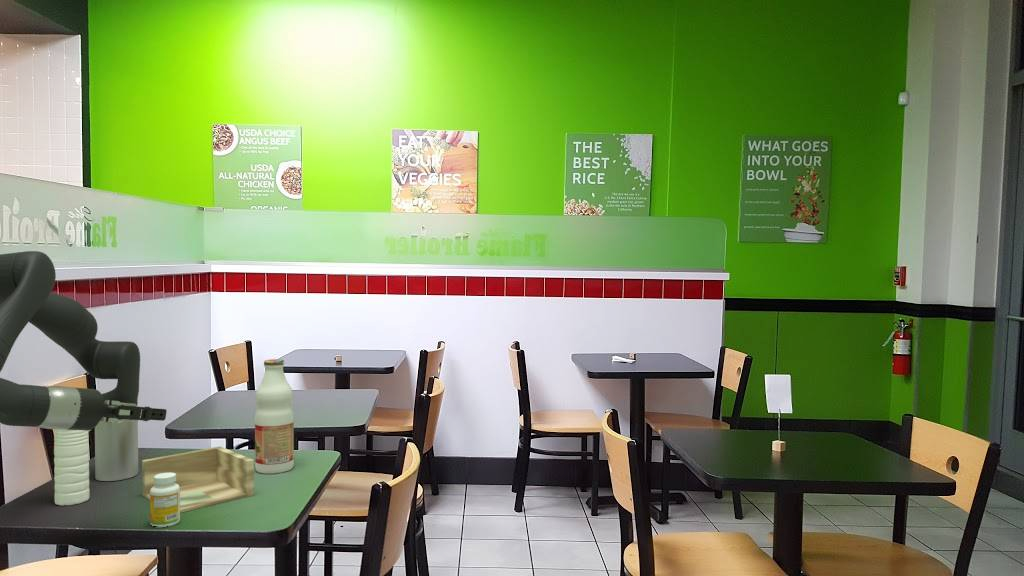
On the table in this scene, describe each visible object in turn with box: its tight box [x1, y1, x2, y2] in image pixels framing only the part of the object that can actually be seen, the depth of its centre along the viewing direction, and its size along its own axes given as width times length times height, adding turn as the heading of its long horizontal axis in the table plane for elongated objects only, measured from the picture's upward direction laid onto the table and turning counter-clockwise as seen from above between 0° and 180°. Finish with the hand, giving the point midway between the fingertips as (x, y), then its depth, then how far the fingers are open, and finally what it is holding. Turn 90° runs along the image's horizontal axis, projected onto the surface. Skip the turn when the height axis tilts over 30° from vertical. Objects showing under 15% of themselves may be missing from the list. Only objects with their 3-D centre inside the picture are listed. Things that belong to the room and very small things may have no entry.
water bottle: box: [53, 429, 90, 506], centre depth 152 cm, size 9×6×25 cm
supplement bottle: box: [149, 473, 181, 528], centre depth 140 cm, size 5×5×10 cm
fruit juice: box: [254, 358, 295, 475], centre depth 178 cm, size 9×9×28 cm
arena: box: [141, 446, 255, 514], centre depth 158 cm, size 18×18×8 cm
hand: (152, 413), depth 139 cm, fingers open, 8 cm apart
